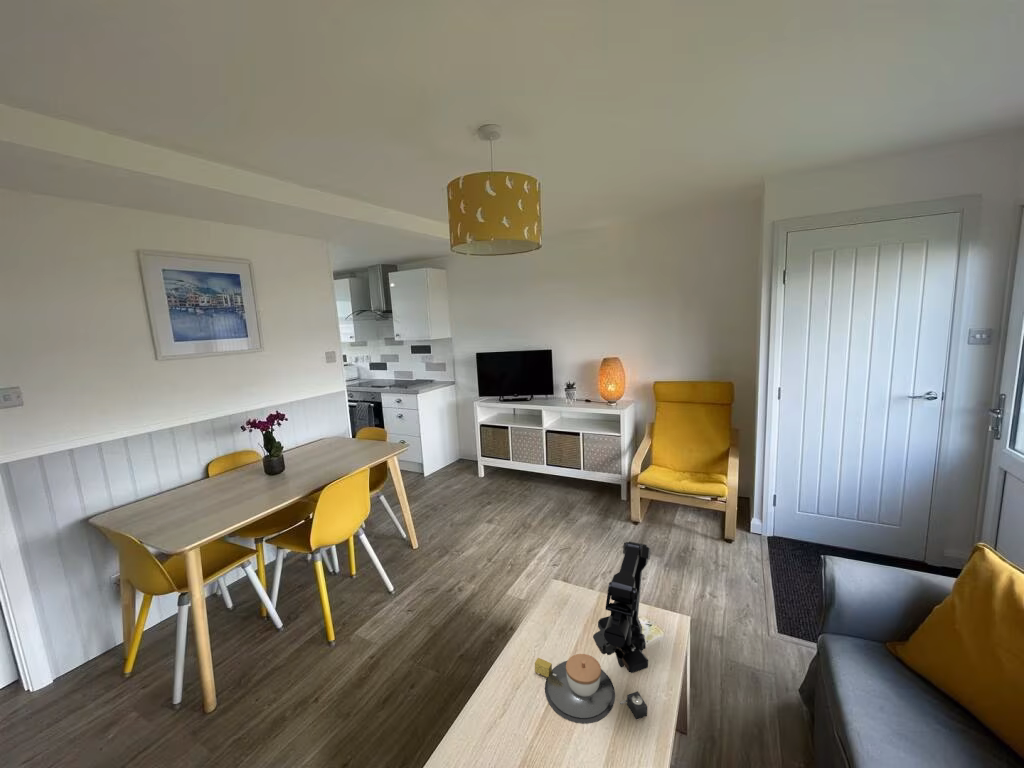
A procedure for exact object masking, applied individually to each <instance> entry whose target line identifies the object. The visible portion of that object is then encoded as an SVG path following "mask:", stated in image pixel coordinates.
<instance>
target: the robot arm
mask: <svg viewBox="0 0 1024 768" xmlns="http://www.w3.org/2000/svg"><path fill="white" fill-rule="evenodd" d="M622 555H623V559H622V563H621V566H620V569H619V572H617V573H615V574H614V575H613V577H612V579H611V581H610V582H609V583H608V587H607V594H606V603H605V611H610V615H608V616H605V617H601V618H600V619H599V620H598V622H597V627H598V629H599V630H598V631H597V632H596V633H594V634H593V636H592V638H593V640H594V643H595V645H596V647H597V648H598V650H599V651H600V653H601V654H602V655H607V656H611V655H613V654H615V655H616V659H617V663H618V666H619V667H620V668H623V667H624V668H625V669H626V671H627V672H628V673H630V674H633V673H636V672H640V671H643V670H645V669H648V667H649V659H648V658H647V657H646V654H644V653H643V651H644V650H645V649H646V645H647V643H646V636H645V634H644V633H643V626H642V622H641V621H640V619H639V609H640V601H641V600H640V597H641V587H642V576H643V575H642V574H643V570H644V569H645V568H646V566H647V565H648V561H649V560H650V559H651V548H650V547H648V544H644V543H639V542H634V541H630V540H629V541H626V542H623V547H622ZM611 601H613V602H611Z"/></svg>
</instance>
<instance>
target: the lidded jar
mask: <svg viewBox="0 0 1024 768" xmlns="http://www.w3.org/2000/svg"><path fill="white" fill-rule="evenodd" d="M566 661H567V663H566V674H567V680H568V684H569V686H570V688H571V689H572V690H573V691H574V692H575V693H576V694H577V695H579V696H583V697H587V696H591V695H593V694H594V693H595V692H596V691H597V689H598V687H599V684H600V679H601V669H602V667H601V664H600V662H599V661H598V660H597V659H596V658H595V657H593V656H591V655H589V654H585V653H577V654H574V655H572V656H570V657H569V658H568V660H566Z"/></svg>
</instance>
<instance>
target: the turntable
mask: <svg viewBox="0 0 1024 768" xmlns="http://www.w3.org/2000/svg"><path fill="white" fill-rule="evenodd" d="M567 661H568V660H565V661H561V663H559V664H557V665H555V666H554V669H553V664H552V662H550V661H547V660H544V659H542V658H540V657H537V658H536V660H535V661H534V672H535V673H537V674H539V675H542V676H544V677H546V678H547V677H548V682H547V689H548V694H549V697H550V699H551V701H552V703H553V704H554V705H555V707H556V708H557V709H558V710H560V711H561V712H562V713H564V714H566V715H568V716H570V717H573V718H577V719H590V718H594V717H597V716H599V715H601V714H602V713H603V712H605V711H606V710H607V708H608V707H609V705H610V703H611V700H612V694H613V692H612V684H611V681H612V680H611V681H610V679H611V678H610V676H609V675H608V674H607V673H606V672H605V671H604V669H602V668H601V679H600V684H599V687H598V689H597V691H596V692H595V693H594V694H593V695H591V696H587V697H583V696H579V695H577V694H576V693H575V692H574V691H573V690H572V689H571V688H570V686H569V684H568V680H567V674H566V663H567ZM552 669H553V670H552ZM607 675H608V676H609V677H608V676H607ZM609 678H610V679H609Z"/></svg>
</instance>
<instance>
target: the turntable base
mask: <svg viewBox="0 0 1024 768" xmlns="http://www.w3.org/2000/svg"><path fill="white" fill-rule="evenodd" d="M554 668H555V667H554ZM554 668H553V667H552V670H553V669H554ZM607 676H608V677H609V679H610V681H611V684H612V692H613V694H612V700H611V703H610V705H609V707H608V708H607V710H606V711H605V712H603V713H602V714H601V715H599V716H597V717H594V718H590V719H577V718H573V717H570V716H568V715H566V714H564V713H562V712H561V711H560V710H558V709H557V708H556V707H555V705H554V704H553V703H552V701H551V699H550V697H549V694H548V689H547V682H548V677H546V679H545V682H544V695H545V697H546V700H547V702H548V705H549V706H550V708H551V709H552V710H553V711H554V712H555V713H556V714H557V715H558V716H560V717H561V718H563V719H565V720H567V721H569V722H571V723H576V724H593V723H597V722H598V721H601V720H603V719H604V718H605V717H607V715H609V714H610V712H611V711H612V709H613V708H614V704H615V701H616V700H615V699H616V690H615V686H614V683H613V682H612V679H611V678H610V676H609V675H608V674H607Z"/></svg>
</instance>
